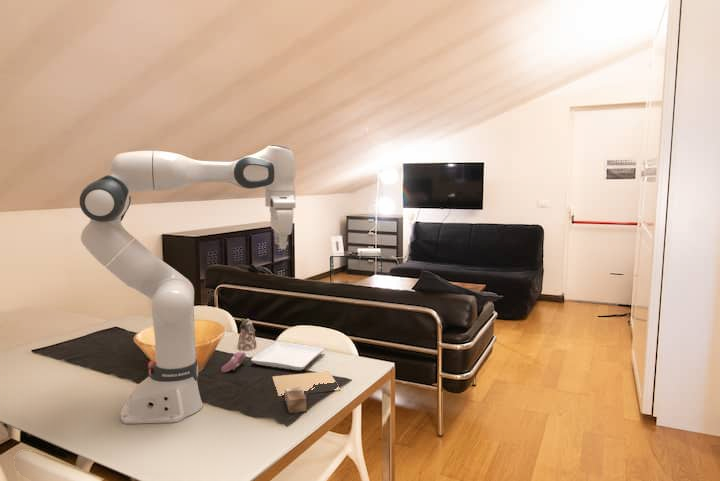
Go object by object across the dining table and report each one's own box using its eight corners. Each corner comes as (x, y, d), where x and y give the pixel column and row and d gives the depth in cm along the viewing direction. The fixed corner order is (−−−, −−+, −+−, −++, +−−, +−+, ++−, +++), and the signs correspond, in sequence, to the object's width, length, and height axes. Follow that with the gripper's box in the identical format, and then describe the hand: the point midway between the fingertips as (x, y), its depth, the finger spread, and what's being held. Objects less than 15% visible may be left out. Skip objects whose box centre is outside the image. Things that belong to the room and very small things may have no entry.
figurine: (247, 352, 202) (247, 322, 201) (234, 348, 206) (233, 319, 204) (260, 347, 208) (259, 318, 207) (246, 343, 212) (246, 315, 211)
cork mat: (278, 397, 162) (278, 395, 162) (272, 377, 178) (272, 376, 178) (340, 390, 168) (340, 389, 168) (329, 372, 183) (329, 371, 183)
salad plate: (303, 375, 181) (303, 366, 180) (249, 367, 187) (249, 358, 187) (325, 355, 201) (325, 347, 200) (276, 349, 207) (276, 340, 207)
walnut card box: (289, 414, 151) (289, 399, 151) (285, 403, 159) (285, 388, 158) (306, 412, 153) (306, 397, 152) (301, 401, 160) (301, 386, 160)
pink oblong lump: (230, 378, 181) (238, 361, 179) (219, 371, 181) (227, 354, 180) (242, 367, 190) (250, 352, 189) (231, 361, 191) (239, 345, 190)
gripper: (265, 198, 163) (265, 242, 165) (274, 202, 144) (274, 251, 146) (285, 198, 165) (285, 241, 167) (296, 202, 146) (296, 251, 148)
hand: (280, 246), depth 156 cm, fingers open, 8 cm apart
